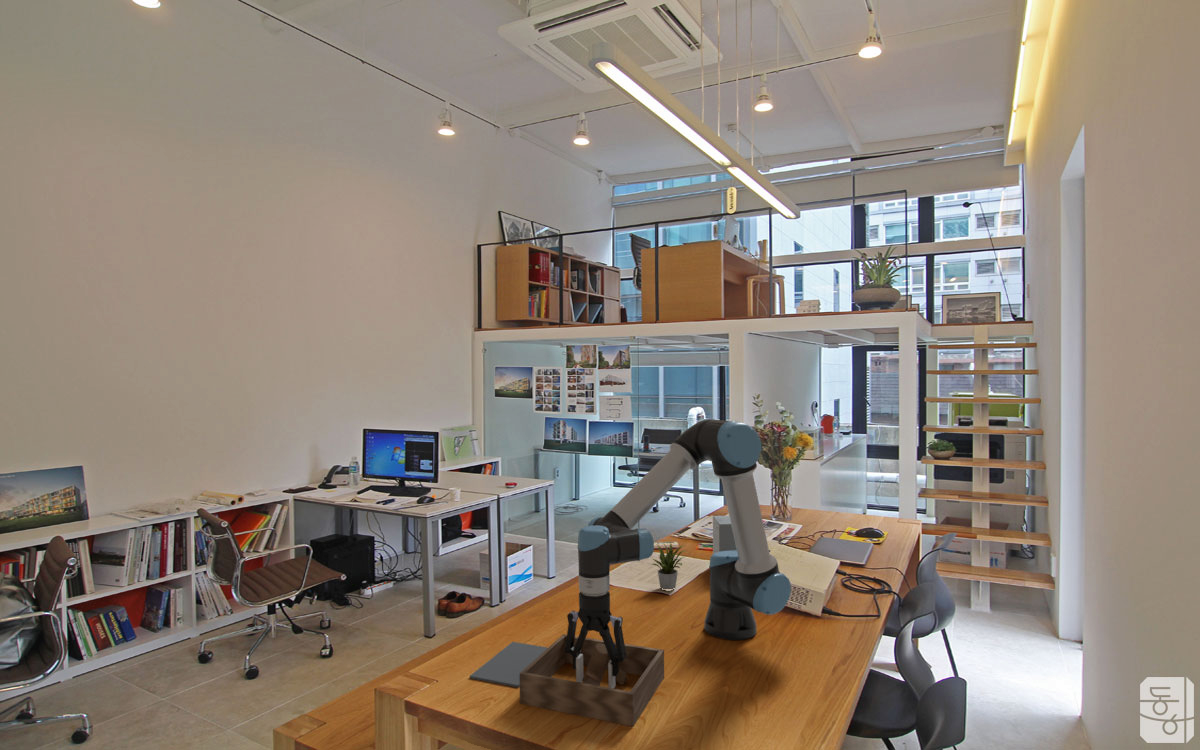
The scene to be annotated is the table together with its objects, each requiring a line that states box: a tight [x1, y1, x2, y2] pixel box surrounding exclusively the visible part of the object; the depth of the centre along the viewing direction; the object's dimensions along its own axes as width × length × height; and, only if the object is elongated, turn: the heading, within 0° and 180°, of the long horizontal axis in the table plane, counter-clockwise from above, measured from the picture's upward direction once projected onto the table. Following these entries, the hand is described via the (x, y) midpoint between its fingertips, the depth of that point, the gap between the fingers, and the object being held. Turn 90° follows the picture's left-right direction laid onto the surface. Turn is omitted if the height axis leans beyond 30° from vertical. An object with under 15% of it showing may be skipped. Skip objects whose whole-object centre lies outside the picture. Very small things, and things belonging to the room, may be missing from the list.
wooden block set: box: [582, 644, 629, 686], centre depth 156 cm, size 18×9×10 cm, turn 151°
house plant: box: [651, 542, 687, 589], centre depth 230 cm, size 14×14×16 cm
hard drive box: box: [712, 515, 737, 554], centre depth 249 cm, size 16×8×20 cm, turn 179°
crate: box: [519, 633, 665, 727], centre depth 158 cm, size 28×24×7 cm
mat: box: [469, 641, 549, 689], centre depth 173 cm, size 14×22×1 cm, turn 158°
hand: (595, 685), depth 158 cm, fingers open, 8 cm apart
